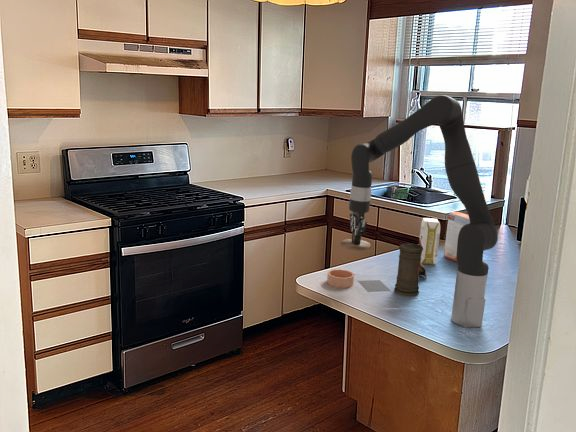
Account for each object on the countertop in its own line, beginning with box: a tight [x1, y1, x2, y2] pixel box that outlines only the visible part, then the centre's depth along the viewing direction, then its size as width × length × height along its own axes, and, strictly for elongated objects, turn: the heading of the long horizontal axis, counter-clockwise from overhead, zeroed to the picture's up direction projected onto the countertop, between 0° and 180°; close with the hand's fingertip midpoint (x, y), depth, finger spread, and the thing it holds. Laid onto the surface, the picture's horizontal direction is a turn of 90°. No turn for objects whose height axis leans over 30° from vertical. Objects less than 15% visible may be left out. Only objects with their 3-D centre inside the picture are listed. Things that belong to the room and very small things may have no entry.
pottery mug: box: [419, 263, 428, 280], centre depth 214 cm, size 12×10×8 cm
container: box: [393, 242, 423, 297], centre depth 195 cm, size 9×9×18 cm
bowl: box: [326, 268, 355, 289], centre depth 202 cm, size 10×10×4 cm
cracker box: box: [443, 211, 470, 263], centre depth 237 cm, size 14×6×21 cm, turn 22°
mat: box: [357, 279, 392, 293], centre depth 201 cm, size 11×9×1 cm
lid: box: [340, 232, 371, 252], centre depth 199 cm, size 11×11×5 cm
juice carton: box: [418, 217, 441, 266], centre depth 232 cm, size 8×9×19 cm
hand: (355, 243), depth 200 cm, fingers closed on lid, 2 cm apart
